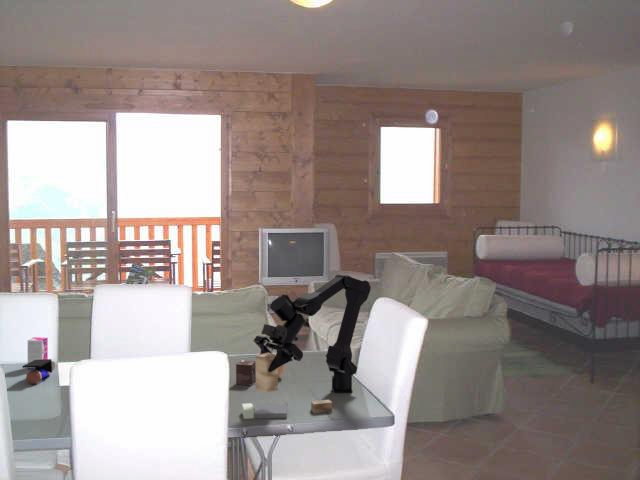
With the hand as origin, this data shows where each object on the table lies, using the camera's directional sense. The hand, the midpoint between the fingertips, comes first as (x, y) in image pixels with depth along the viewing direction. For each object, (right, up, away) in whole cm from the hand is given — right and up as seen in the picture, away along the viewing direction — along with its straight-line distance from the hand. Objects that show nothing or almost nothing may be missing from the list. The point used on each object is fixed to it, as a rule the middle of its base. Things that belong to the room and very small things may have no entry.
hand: (263, 369), depth 218 cm
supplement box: (-92, -9, +53) cm, 106 cm away
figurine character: (-85, -11, +37) cm, 93 cm away
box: (-9, -11, +34) cm, 37 cm away
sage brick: (-5, -14, -2) cm, 15 cm away
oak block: (+1, -7, +1) cm, 7 cm away
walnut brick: (+18, -14, +3) cm, 23 cm away
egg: (+1, -11, +40) cm, 42 cm away
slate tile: (+2, -14, 0) cm, 14 cm away
